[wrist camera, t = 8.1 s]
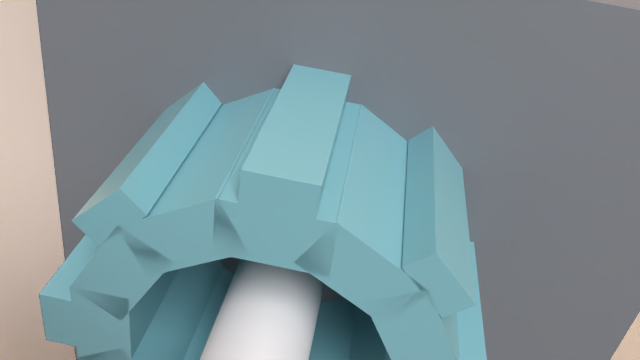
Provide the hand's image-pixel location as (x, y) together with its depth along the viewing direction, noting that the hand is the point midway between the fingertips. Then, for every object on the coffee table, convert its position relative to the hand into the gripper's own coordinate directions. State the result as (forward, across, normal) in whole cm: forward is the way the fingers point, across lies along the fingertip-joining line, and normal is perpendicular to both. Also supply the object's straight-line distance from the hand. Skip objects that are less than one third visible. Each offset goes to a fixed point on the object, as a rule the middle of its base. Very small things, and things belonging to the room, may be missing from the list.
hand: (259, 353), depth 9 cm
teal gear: (+3, 0, 0) cm, 3 cm away
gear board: (+5, -1, +4) cm, 6 cm away
